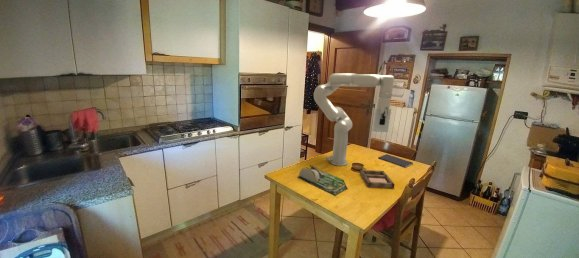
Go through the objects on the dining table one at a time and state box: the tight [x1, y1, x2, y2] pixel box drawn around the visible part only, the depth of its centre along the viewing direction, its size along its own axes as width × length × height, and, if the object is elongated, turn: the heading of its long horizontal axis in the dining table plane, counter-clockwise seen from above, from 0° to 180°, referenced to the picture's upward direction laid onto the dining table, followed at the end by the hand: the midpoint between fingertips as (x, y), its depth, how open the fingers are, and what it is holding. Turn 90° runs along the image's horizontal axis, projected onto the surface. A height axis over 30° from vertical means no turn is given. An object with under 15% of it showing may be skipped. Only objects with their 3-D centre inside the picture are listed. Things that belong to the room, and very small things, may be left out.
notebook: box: [377, 153, 414, 169], centre depth 182 cm, size 13×2×21 cm
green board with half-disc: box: [297, 164, 348, 197], centre depth 146 cm, size 33×8×20 cm
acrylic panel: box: [371, 107, 392, 133], centre depth 154 cm, size 9×3×15 cm, turn 89°
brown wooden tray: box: [359, 169, 396, 189], centre depth 147 cm, size 15×18×4 cm
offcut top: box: [368, 178, 387, 183], centre depth 144 cm, size 10×7×2 cm
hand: (380, 123), depth 154 cm, fingers closed on acrylic panel, 3 cm apart
